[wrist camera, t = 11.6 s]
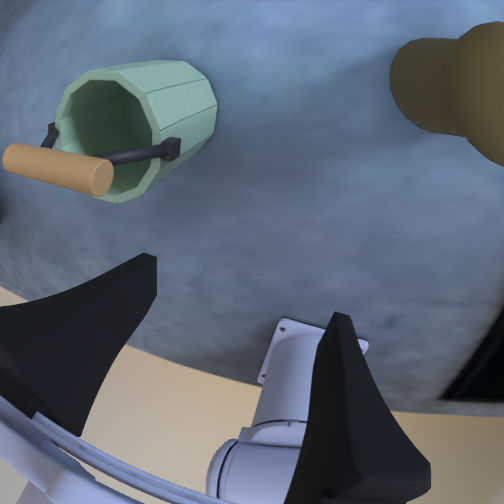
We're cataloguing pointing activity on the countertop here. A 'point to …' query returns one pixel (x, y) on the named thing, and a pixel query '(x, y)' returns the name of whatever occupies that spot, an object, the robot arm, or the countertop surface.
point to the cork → (455, 86)
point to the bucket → (121, 130)
